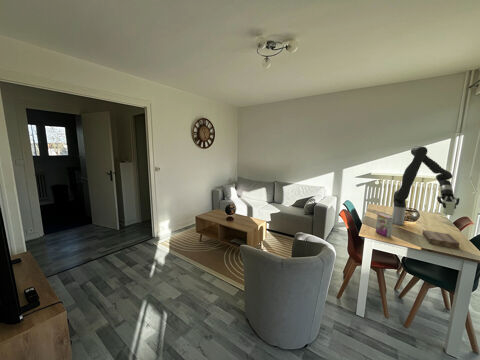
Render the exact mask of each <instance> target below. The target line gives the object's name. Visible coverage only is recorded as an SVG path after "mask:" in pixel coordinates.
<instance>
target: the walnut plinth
mask: <svg viewBox="0 0 480 360" xmlns="http://www.w3.org/2000/svg"><path fill="white" fill-rule="evenodd" d="M422 236H423V237H424V239H425V240H426V241H427V242H428V243H429V244H430V245H434V246H435V245H436V246H441V247H446V246H447V248H452V247H453V249H457V248H458V249H460V242H459V241H457V239H455V238H454V237H453V236H452V235H451V234H449V233H447V232H446V233H445V232H440V231H432V230H427V229H426V230H424V229H422Z"/></svg>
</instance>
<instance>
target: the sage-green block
mask: <svg viewBox="0 0 480 360" xmlns="http://www.w3.org/2000/svg"><path fill="white" fill-rule="evenodd" d="M455 203H456V202H455ZM455 203H453V202H447V201H446V202H445V204H446V208H444V207H443V206H442V214H444V215H448V216H454V213H455V209H454V207H455Z"/></svg>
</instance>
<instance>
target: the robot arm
mask: <svg viewBox="0 0 480 360" xmlns="http://www.w3.org/2000/svg"><path fill="white" fill-rule="evenodd" d="M410 154H411V155H412V156H413V158H412V161H411V162H410V163H409V165H407V167H405V169H404V173H403V175H402V180H401V185H400V188H399V189H397V190H395V191H394V193H393V209H392V212H391V213H392V214H391V217H392V218H393V225H395V226H396V225H397V226H403V225H404V224H405V217H406V216H405V215H406V208H407V204H406V200H407V199H408V197H409V194H410V191H411V188H412V185H413V184H414V182H415V179H416V177H417V175H418V173H419V170H420V169H421V166H422V164H424V165H425V166H426V167H427V168H428V169H429V170H430V171H431V172H432V173H433V174H437V175H435V179H436V180H437V182H438V184H439V192H440V196H437V197H436V200H437V202H438V203H439V204H440V205H442V208H443V207H444V208H446V204H445V202H446V201H447V202H453V203H455V207H454V210H455V209H457V206H458V205H459V203H460V198H459V197H457V198H456V197H455V196H454V190H453V187H452V184H451V181H450V179H452V178H453V174H452V173H451V172H450V171H449V170H446V169H445V168H443V167H442V166H440V164H439V163H438V162H436V161H435V160H433V159H432V158H431V157H430V156H428V155H427V154H428V148H427V147H426V146H421V145H420V146H417V145H416V146H414V147H412V148H411V149H410Z"/></svg>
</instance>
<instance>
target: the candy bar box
mask: <svg viewBox="0 0 480 360" xmlns="http://www.w3.org/2000/svg"><path fill="white" fill-rule="evenodd" d="M393 225H394V224H393V218H392V216H389V215H386V214H384V213H378V214H377V216H376V226H375V233H377V234H379V235H381V236H383V237H386V238H391V237H392V234H393V232H392V231H393Z"/></svg>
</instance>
